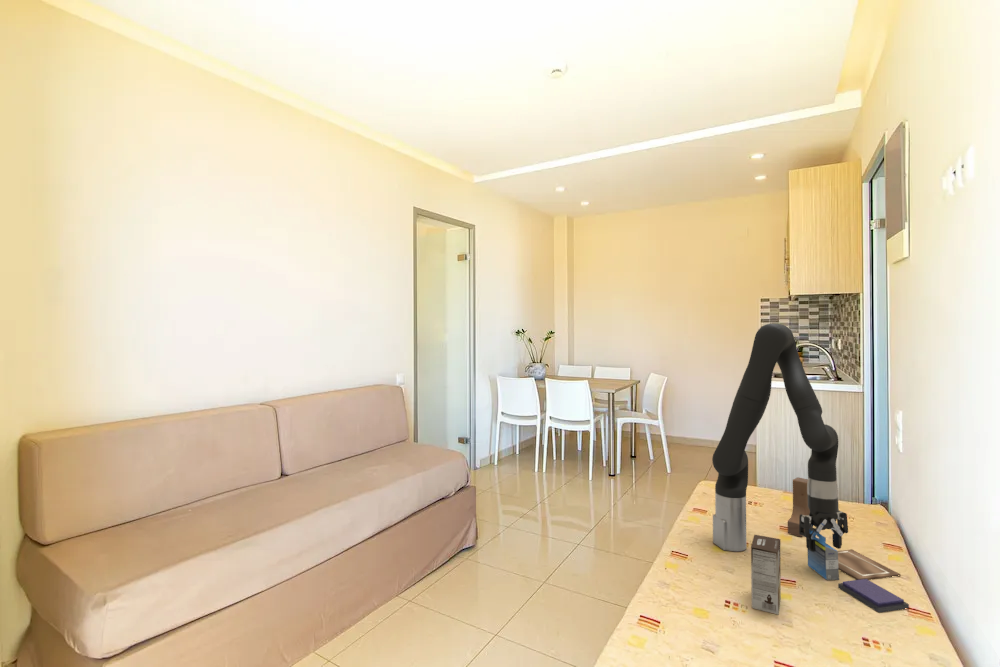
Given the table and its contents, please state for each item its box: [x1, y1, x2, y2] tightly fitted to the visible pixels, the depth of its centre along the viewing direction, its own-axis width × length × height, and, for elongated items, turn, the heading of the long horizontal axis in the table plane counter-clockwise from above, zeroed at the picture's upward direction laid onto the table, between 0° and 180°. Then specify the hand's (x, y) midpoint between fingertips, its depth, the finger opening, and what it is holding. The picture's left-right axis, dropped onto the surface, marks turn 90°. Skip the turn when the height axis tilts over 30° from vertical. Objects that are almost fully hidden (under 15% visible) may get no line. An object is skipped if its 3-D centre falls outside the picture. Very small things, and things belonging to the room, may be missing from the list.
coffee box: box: [750, 534, 782, 615], centre depth 128 cm, size 9×6×16 cm
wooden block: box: [787, 476, 810, 538], centre depth 171 cm, size 9×4×18 cm, turn 128°
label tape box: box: [806, 531, 840, 581], centre depth 143 cm, size 9×4×12 cm, turn 179°
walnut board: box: [837, 549, 901, 581], centre depth 147 cm, size 14×16×1 cm
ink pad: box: [837, 579, 910, 614], centre depth 130 cm, size 9×12×2 cm
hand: (824, 549), depth 143 cm, fingers open, 8 cm apart
